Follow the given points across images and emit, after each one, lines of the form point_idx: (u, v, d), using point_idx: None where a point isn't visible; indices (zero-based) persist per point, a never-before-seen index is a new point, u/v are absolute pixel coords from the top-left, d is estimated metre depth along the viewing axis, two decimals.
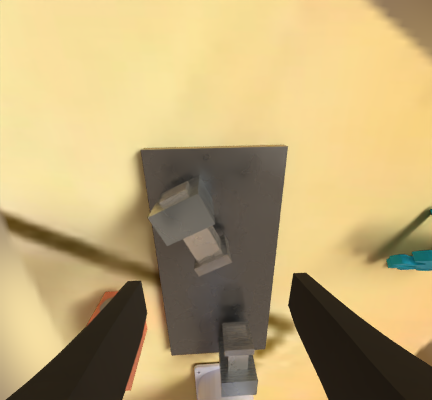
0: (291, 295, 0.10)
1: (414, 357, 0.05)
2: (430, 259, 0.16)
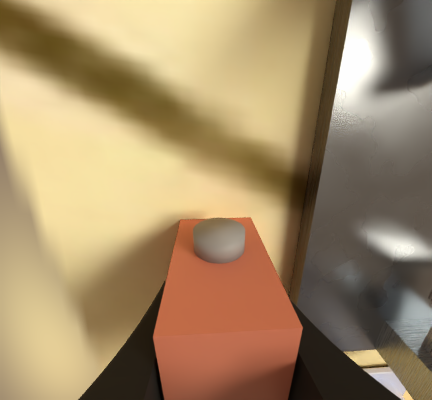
0: None
1: (350, 361, 0.05)
2: None
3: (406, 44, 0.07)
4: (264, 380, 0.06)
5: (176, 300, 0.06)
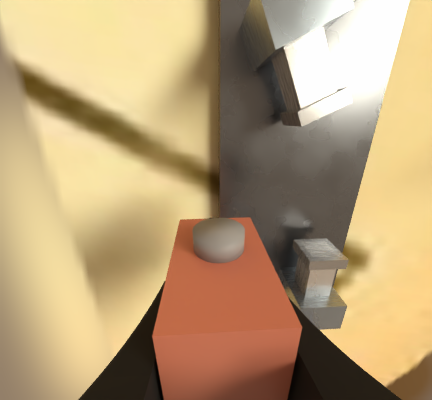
0: None
1: (350, 361, 0.05)
2: None
3: (252, 106, 0.14)
4: (264, 380, 0.06)
5: (175, 300, 0.06)
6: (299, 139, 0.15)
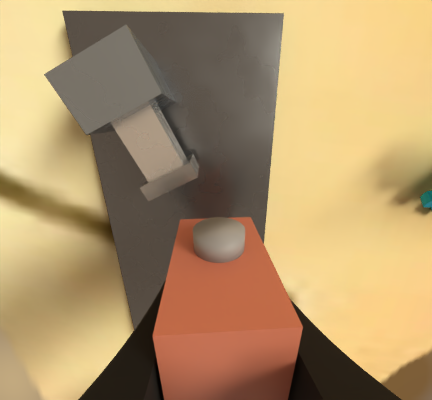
0: None
1: (350, 361, 0.05)
2: None
3: (132, 163, 0.13)
4: (264, 380, 0.06)
5: (176, 299, 0.06)
6: (189, 193, 0.14)
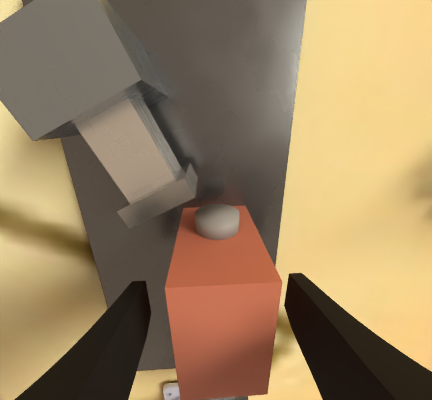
0: (287, 295, 0.10)
1: (406, 358, 0.05)
2: None
3: None
4: (253, 329, 0.07)
5: (182, 265, 0.07)
6: None
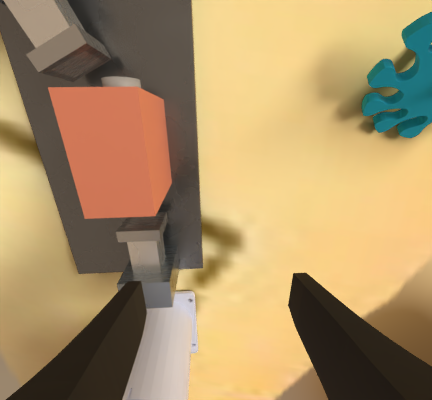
0: (291, 295, 0.10)
1: (414, 357, 0.05)
2: (431, 21, 0.10)
3: None
4: (126, 138, 0.09)
5: None
6: None
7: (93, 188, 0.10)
